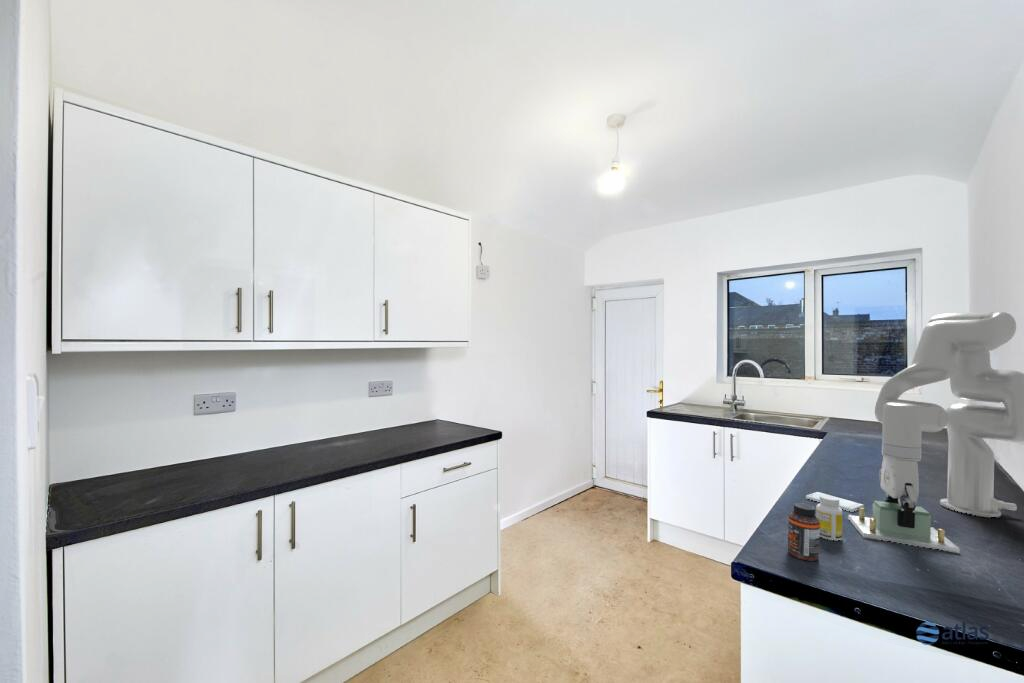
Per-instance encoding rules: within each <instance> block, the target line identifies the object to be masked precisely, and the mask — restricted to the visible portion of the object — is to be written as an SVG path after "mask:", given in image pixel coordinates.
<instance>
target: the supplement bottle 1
mask: <svg viewBox="0 0 1024 683" xmlns="http://www.w3.org/2000/svg"><path fill="white" fill-rule="evenodd" d="M787 522H788V527H787V528H788V529H787V551H788V553H789V555H791V556H793V557H794V558H796V559H799V560H802V561H809V562H814V561H817V560H819V557H820V539H821V537H820V521H819V519H818V518H817V517H816V507H814V506H813V505H811V504H807V503H802V502H796V503H793V511H791V512H789V514H788V520H787Z"/></svg>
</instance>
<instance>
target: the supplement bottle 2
mask: <svg viewBox="0 0 1024 683" xmlns="http://www.w3.org/2000/svg"><path fill="white" fill-rule="evenodd" d="M829 495H830V494H827V495H820V502H821V503H817V504H816V506H815V516H816V517H817V518H818V519H819V521H820V538H821V537H822V539H825V540H827V539H828V541H833V540H834V542H837V541H838V540H840V541H842V540H843V519H844V518H843V515H844V514H843V510H842V509H841V508H839V507H838V505H839V499H838V498H839V497H838V498H836V497H837V496H834V497H833V495H831V496H829ZM838 542H839V541H838Z"/></svg>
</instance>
